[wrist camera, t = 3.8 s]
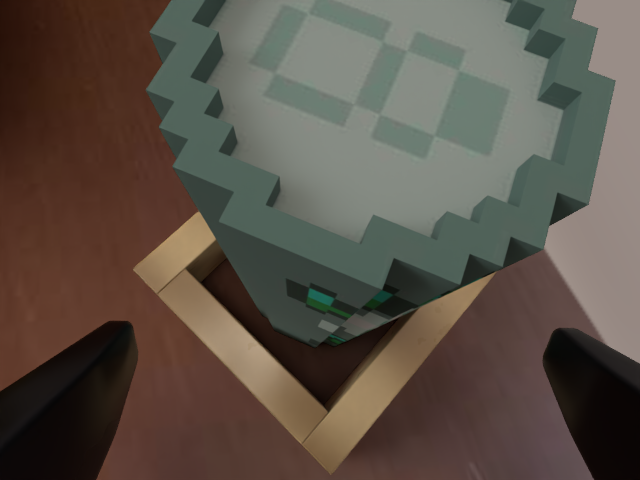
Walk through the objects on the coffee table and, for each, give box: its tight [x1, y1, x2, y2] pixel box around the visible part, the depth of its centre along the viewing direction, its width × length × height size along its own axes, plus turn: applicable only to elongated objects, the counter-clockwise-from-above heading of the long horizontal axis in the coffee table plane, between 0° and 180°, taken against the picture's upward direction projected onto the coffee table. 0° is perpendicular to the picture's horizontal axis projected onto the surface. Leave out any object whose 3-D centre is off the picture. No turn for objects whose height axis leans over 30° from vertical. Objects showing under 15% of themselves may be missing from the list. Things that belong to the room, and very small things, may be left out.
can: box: [146, 0, 615, 348], centre depth 13 cm, size 6×6×15 cm
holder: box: [133, 211, 497, 474], centre depth 18 cm, size 11×11×3 cm
